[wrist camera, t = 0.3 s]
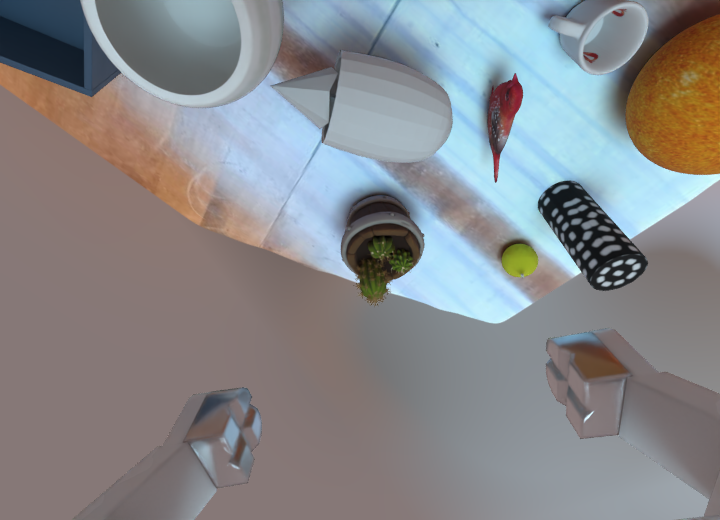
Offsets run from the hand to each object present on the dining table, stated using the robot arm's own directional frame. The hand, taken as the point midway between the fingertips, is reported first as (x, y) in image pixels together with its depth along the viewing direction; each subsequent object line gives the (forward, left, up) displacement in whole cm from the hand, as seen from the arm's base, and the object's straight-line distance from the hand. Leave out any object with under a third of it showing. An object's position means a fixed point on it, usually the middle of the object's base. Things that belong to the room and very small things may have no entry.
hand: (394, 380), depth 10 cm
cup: (-12, +30, -52) cm, 61 cm away
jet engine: (+6, +7, -52) cm, 53 cm away
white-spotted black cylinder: (+10, +52, -52) cm, 74 cm away
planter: (+4, -13, -52) cm, 54 cm away
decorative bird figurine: (+3, +28, -52) cm, 59 cm away
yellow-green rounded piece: (+24, +53, -52) cm, 78 cm away
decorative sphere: (-14, +49, -52) cm, 73 cm away
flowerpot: (+28, +21, -52) cm, 63 cm away
